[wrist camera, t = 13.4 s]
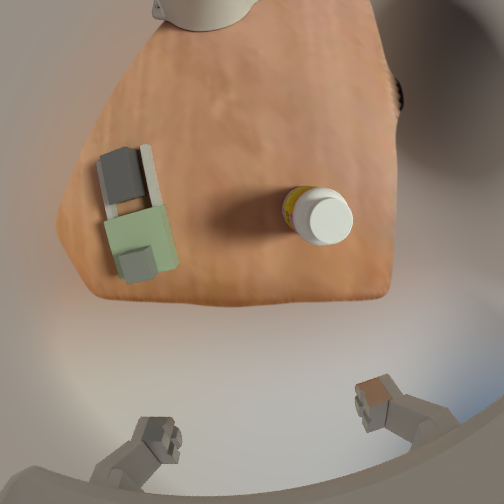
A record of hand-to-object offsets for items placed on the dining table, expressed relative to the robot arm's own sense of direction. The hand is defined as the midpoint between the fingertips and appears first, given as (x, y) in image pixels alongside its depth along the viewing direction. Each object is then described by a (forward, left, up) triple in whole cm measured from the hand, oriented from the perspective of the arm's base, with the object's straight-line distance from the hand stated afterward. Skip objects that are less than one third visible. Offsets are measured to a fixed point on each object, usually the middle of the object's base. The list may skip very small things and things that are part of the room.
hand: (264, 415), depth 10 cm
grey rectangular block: (-14, -15, -31) cm, 38 cm away
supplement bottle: (-4, +9, -31) cm, 33 cm away
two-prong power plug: (-9, -15, -31) cm, 36 cm away
